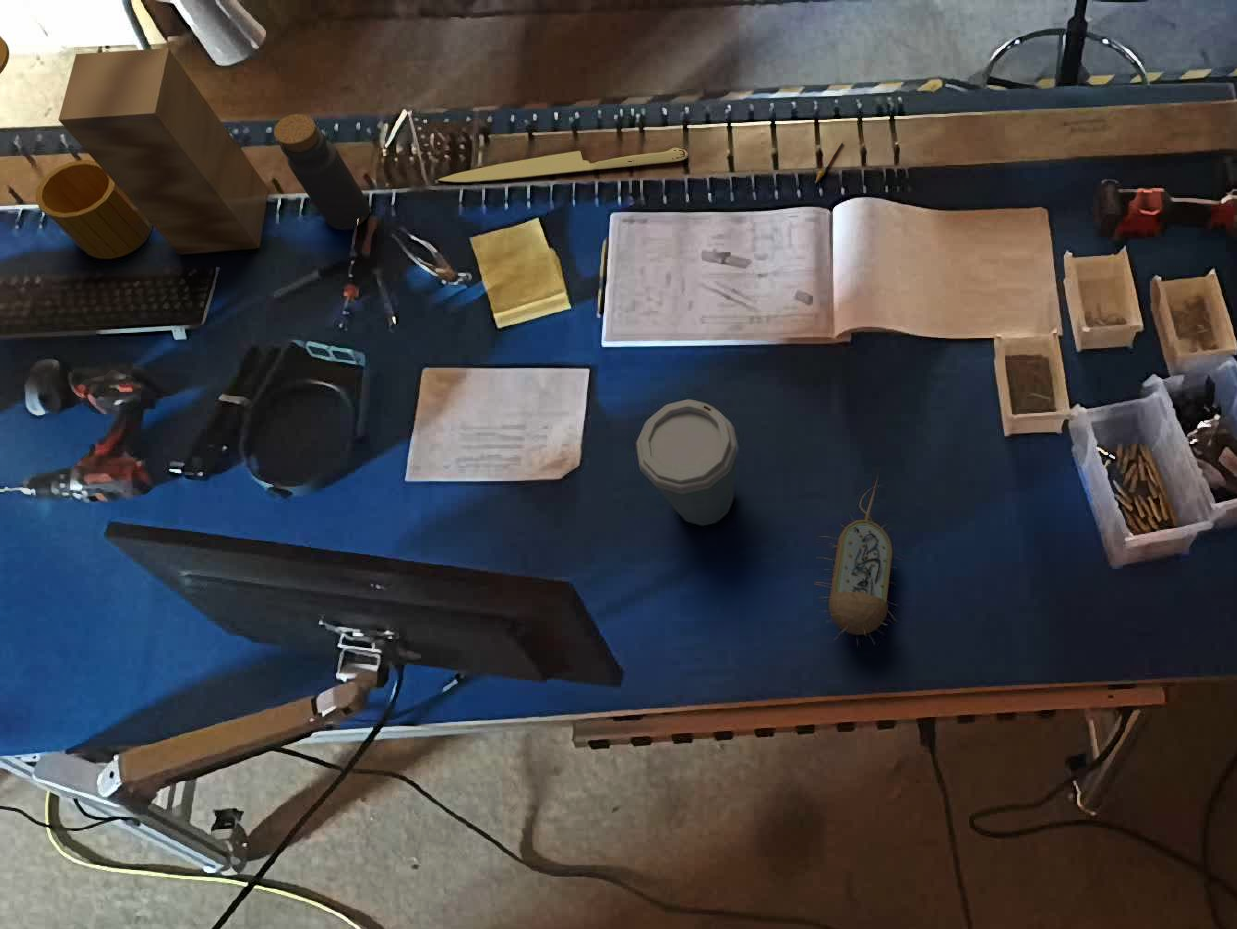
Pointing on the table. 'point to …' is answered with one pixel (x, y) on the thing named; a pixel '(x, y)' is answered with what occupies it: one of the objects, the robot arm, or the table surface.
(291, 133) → the bottle
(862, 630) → the bacterium
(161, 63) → the stand
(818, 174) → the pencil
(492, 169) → the knife
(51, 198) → the wooden cup
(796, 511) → the table surface
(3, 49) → the lid
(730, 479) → the disposable coffee cup
